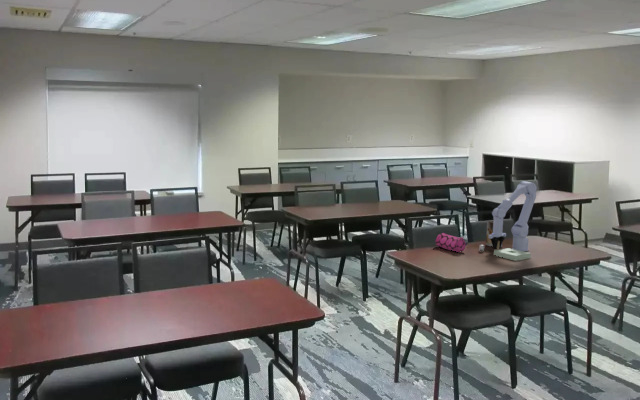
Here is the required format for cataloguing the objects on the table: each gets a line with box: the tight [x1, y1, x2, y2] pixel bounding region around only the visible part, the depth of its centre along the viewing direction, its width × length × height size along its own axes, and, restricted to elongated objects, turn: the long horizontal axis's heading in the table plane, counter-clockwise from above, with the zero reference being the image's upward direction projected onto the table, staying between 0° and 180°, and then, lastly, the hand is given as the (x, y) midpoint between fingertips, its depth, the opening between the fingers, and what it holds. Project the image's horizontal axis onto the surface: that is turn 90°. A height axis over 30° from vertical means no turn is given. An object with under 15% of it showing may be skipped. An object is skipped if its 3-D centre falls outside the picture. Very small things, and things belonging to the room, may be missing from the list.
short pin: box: [478, 244, 486, 252], centre depth 356 cm, size 3×3×4 cm
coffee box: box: [485, 220, 504, 248], centre depth 372 cm, size 9×6×16 cm
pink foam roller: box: [435, 232, 468, 253], centre depth 360 cm, size 21×10×10 cm, turn 30°
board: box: [493, 247, 532, 261], centre depth 343 cm, size 14×16×3 cm
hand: (496, 248), depth 356 cm, fingers closed on long pin, 3 cm apart
